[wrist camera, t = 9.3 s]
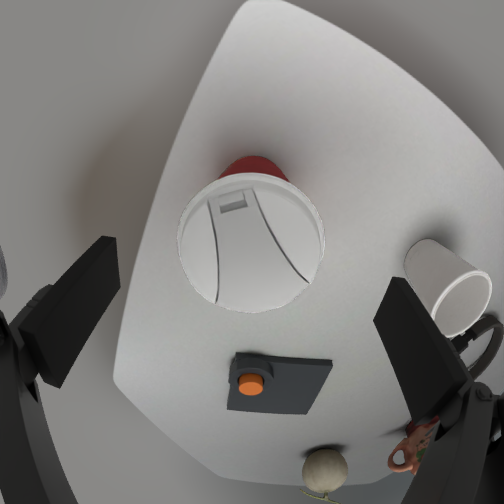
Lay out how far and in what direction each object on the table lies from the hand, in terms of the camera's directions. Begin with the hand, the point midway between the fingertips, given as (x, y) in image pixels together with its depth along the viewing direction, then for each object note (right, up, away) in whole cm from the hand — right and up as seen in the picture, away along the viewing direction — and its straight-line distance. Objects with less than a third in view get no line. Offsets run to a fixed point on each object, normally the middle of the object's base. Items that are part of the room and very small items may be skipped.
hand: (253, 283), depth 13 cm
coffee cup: (0, +8, +15) cm, 17 cm away
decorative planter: (+40, -40, +39) cm, 69 cm away
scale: (+4, -20, +29) cm, 35 cm away
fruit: (+16, -46, +43) cm, 65 cm away
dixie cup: (+21, +1, +19) cm, 28 cm away
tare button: (0, -16, +25) cm, 29 cm away
